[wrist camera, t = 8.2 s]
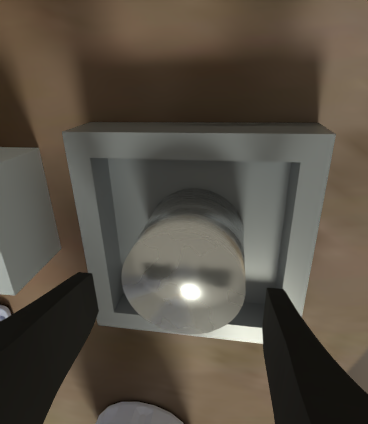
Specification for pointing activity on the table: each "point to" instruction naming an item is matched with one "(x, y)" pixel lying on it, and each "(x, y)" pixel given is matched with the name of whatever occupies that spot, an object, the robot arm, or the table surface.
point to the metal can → (188, 264)
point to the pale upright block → (24, 218)
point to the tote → (208, 180)
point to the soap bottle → (136, 414)
